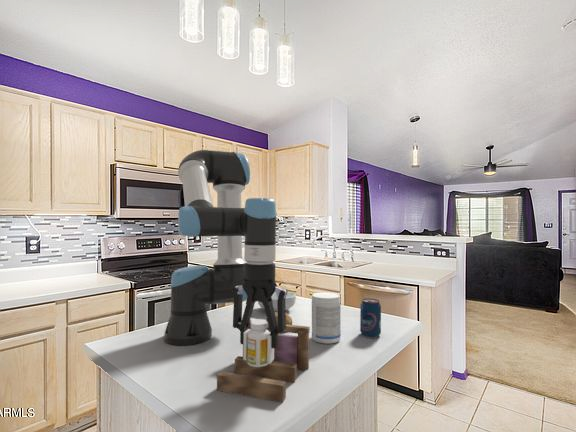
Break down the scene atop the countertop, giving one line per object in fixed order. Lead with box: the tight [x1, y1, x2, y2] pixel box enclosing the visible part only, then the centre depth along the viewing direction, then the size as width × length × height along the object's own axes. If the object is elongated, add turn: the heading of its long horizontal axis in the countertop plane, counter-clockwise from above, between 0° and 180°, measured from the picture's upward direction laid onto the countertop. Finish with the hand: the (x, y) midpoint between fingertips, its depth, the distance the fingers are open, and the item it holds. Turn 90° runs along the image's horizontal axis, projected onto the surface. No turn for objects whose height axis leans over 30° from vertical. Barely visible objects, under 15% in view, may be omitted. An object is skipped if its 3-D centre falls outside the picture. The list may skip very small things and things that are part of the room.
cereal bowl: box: [257, 291, 297, 312], centre depth 143 cm, size 17×17×7 cm
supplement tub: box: [311, 292, 342, 345], centre depth 109 cm, size 10×10×15 cm
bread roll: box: [265, 312, 293, 334], centre depth 119 cm, size 10×10×8 cm
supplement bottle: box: [247, 319, 270, 367], centre depth 78 cm, size 5×5×10 cm
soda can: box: [359, 298, 382, 339], centre depth 113 cm, size 7×7×12 cm
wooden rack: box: [216, 319, 311, 403], centre depth 82 cm, size 19×19×11 cm
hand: (258, 359), depth 78 cm, fingers closed on supplement bottle, 5 cm apart
